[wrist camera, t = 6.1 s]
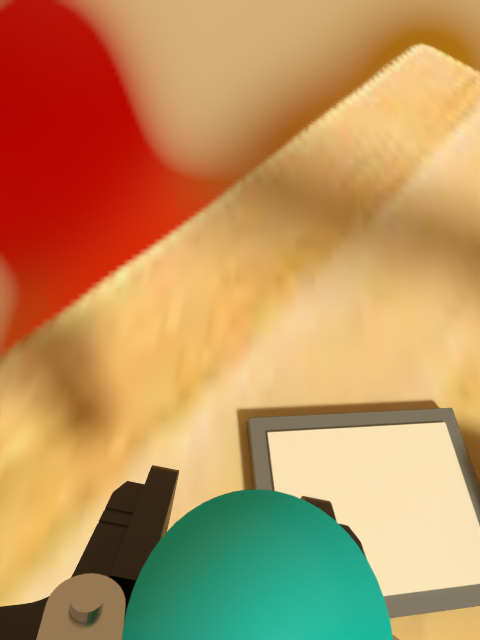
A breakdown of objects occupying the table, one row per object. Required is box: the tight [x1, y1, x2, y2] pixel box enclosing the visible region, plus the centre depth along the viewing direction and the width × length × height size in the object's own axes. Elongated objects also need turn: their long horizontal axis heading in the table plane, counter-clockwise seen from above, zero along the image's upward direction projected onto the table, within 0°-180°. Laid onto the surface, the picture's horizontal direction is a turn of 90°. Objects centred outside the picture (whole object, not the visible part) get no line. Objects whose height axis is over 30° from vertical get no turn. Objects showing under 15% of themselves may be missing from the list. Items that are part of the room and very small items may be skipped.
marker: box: [122, 489, 393, 640], centre depth 10 cm, size 3×3×10 cm
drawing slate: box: [247, 408, 480, 618], centre depth 26 cm, size 14×11×1 cm
